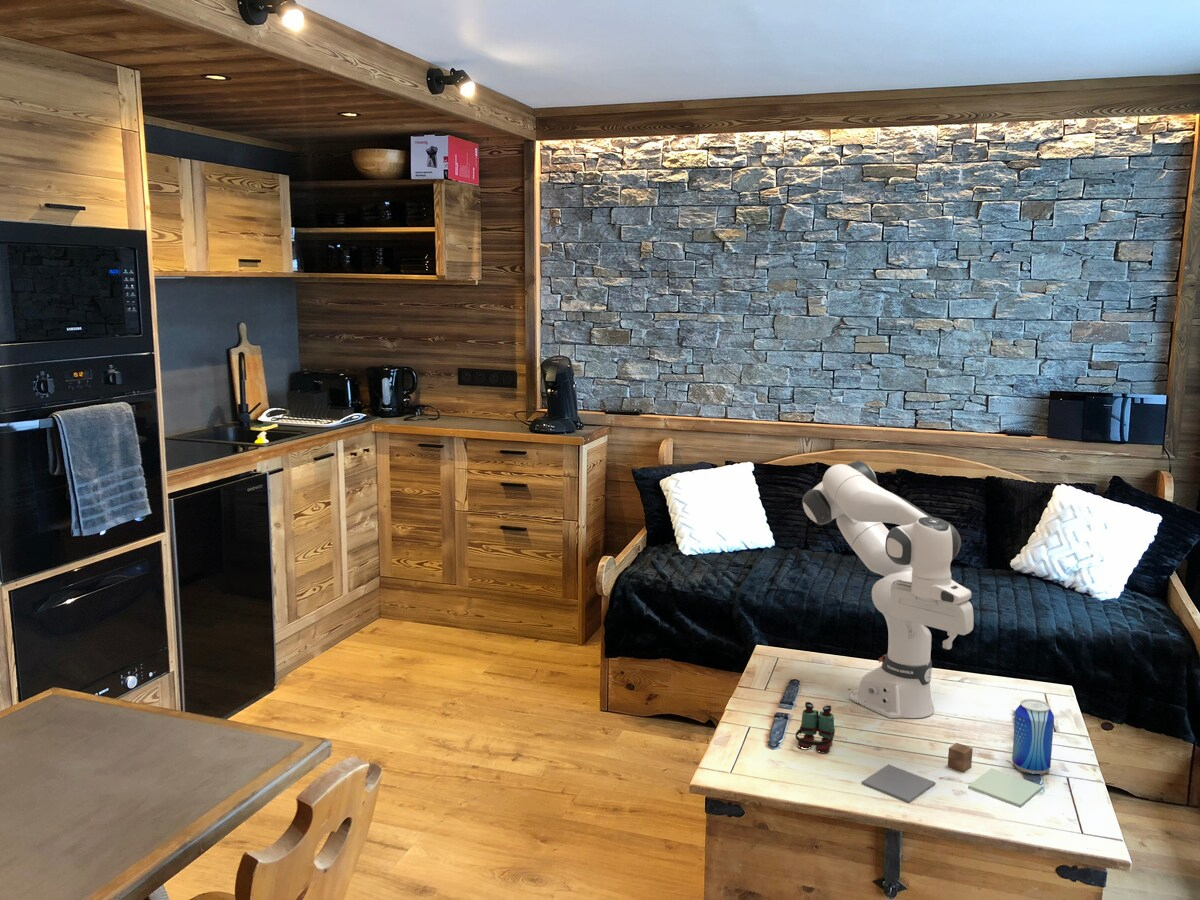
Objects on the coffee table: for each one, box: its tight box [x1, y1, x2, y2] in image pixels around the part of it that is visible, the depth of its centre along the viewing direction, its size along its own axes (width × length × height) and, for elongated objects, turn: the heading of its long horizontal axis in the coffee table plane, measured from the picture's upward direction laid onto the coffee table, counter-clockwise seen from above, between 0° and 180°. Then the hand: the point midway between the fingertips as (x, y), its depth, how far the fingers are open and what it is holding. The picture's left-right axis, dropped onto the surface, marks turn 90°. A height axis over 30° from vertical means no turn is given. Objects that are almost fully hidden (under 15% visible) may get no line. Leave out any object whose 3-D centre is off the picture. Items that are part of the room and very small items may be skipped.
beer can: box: [1011, 698, 1055, 775], centre depth 231 cm, size 8×8×16 cm
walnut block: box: [947, 742, 973, 774], centre depth 232 cm, size 4×4×5 cm
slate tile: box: [861, 764, 936, 804], centre depth 224 cm, size 12×12×1 cm
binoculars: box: [795, 701, 836, 753], centre depth 242 cm, size 9×11×10 cm
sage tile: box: [967, 767, 1044, 808], centre depth 223 cm, size 12×12×1 cm
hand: (928, 643), depth 230 cm, fingers open, 8 cm apart
